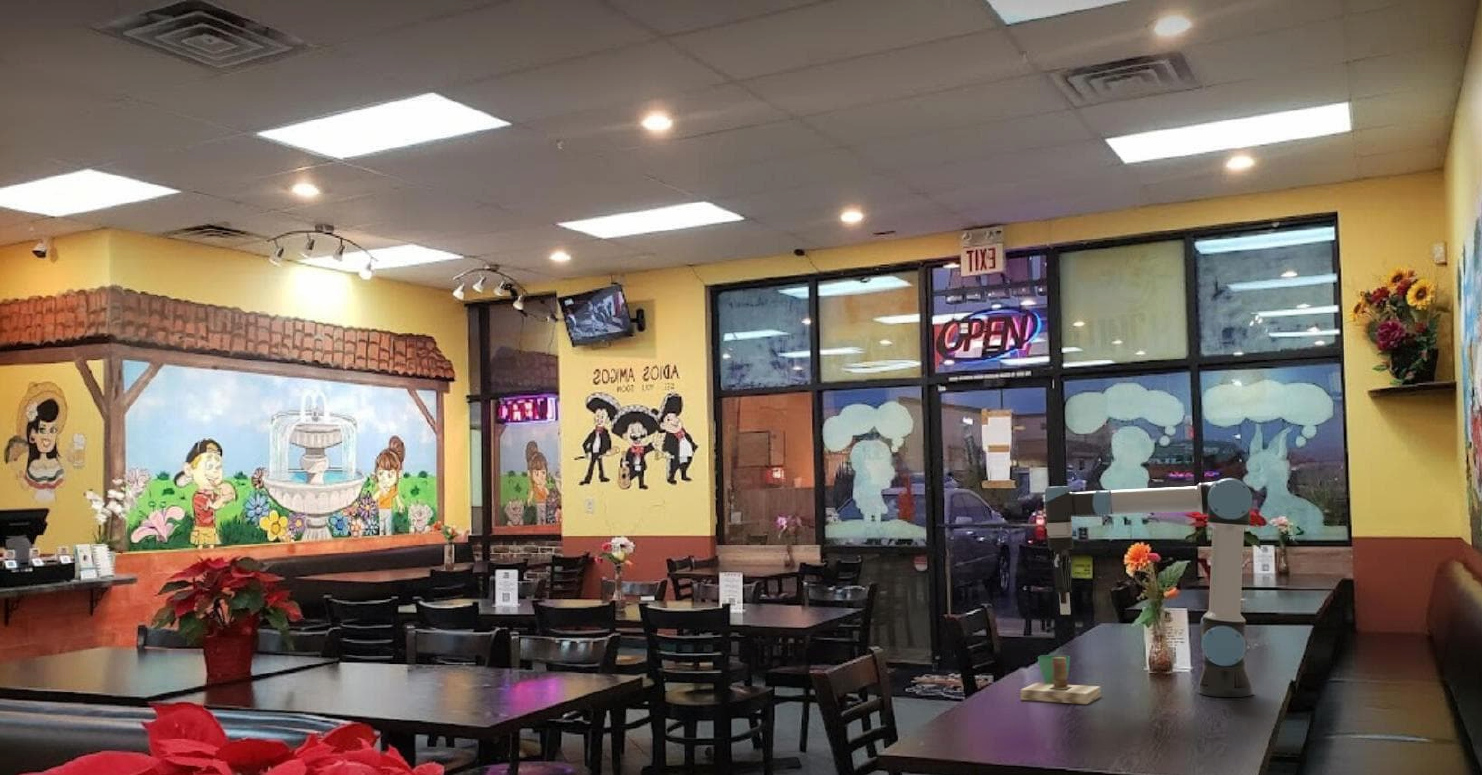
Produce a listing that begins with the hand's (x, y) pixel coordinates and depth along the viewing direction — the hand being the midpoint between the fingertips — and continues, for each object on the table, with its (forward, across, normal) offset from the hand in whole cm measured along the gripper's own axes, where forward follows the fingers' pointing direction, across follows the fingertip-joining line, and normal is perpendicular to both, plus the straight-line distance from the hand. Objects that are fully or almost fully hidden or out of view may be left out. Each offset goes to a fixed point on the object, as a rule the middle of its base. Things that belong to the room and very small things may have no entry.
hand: (1065, 614), depth 366 cm
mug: (+25, -15, -9) cm, 30 cm away
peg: (+25, +4, -2) cm, 25 cm away
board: (+25, +4, -2) cm, 25 cm away
